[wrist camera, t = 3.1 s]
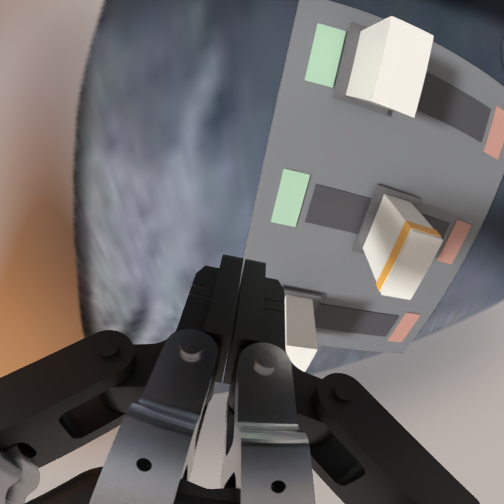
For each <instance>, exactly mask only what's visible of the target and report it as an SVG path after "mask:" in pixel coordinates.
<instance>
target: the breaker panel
mask: <svg viewBox="0 0 504 504" xmlns="http://www.w3.org/2000/svg"><path fill="white" fill-rule="evenodd" d="M382 20H384V19H382V18H380V17H377V16H375V15H372V14H369V13H366V12H364V11H361V10H358V9H355V8H352V7H349V6H346V5H342V4H339V3H336V2H332V1H329V0H299V3H298V7H297V11H296V16H295V20H294V24H293V29H292V33H291V38H290V42H289V47H288V51H287V56H286V60H285V65H284V69H283V74H282V78H281V83H280V88H279V92H278V97H277V101H276V106H275V110H274V115H273V120H272V124H271V129H270V134H269V138H268V143H267V147H266V152H265V157H264V161H263V166H262V171H261V176H260V180H259V185H258V190H257V194H256V199H255V204H254V209H253V213H252V218H251V223H250V228H249V232H248V237H247V242H246V247H245V252H244V256H243V258H244V260H243V266H242V272H243V267H244V263H245V259H250V260H255V261H260V262H265V263H266V276H265V277H266V278H272V279H277V280H279V282H280V284H281V285H282V287H283V288H288V289H294V290H299V291H305V292H310V293H316V294H321V295H322V297H321V300H320V302H319V304H318V306H317V309H316V311H315V313H314V318H315V328H316V337H317V345H322V346H330V347H338V348H347V349H356V350H366V351H376V352H388V353H401V354H402V353H403V352H404V351H405V350H406V348H407V347H408V346H409V345H410V343H411V342H412V341H413V339H414V338H415V336H416V335H417V334H418V332H419V331H420V330H421V328H422V327H423V325H424V324H425V322H426V321H427V320H428V318H429V317H430V315H431V314H432V312H433V311H434V309H435V308H436V306H437V305H438V303H439V302H440V300H441V298H442V297H443V295H444V294H445V292H446V290H447V289H448V287H449V286H450V284H451V282H452V281H453V279H454V277H455V275H456V274H457V272H458V270H459V268H460V267H461V265H462V263H463V261H464V259H465V258H466V256H467V254H468V252H469V250H470V248H471V246H472V244H473V242H474V240H475V238H476V236H477V234H478V232H479V230H480V228H481V226H482V224H483V222H484V220H485V218H486V215H487V213H488V211H489V209H490V206H491V204H492V202H493V199H494V197H495V194H496V192H497V189H498V187H499V184H500V182H501V179H502V176H503V174H504V87H503V86H502V85H501V84H500V83H498V82H497V81H495V80H494V79H493V78H491V77H490V76H488V75H487V74H486V73H484V72H483V71H481V70H480V69H478V68H477V67H475V66H474V65H472V64H471V63H469V62H467V61H466V60H464V59H463V58H461V57H459V56H458V55H456V54H454V53H453V52H451V51H449V50H447V49H446V48H444V47H442V46H440V45H438V44H436V43H435V42H433V43H432V48H431V53H430V57H429V62H428V66H427V71H426V75H425V79H424V83H423V87H422V91H421V95H420V99H419V103H418V106H417V110H416V114H415V117H414V118H413V117H410V116H407V115H404V114H402V113H399V112H396V111H393V110H390V109H388V113H387V116H385V115H383V114H380V113H377V112H374V111H371V110H368V109H365V108H362V107H359V106H356V105H353V104H350V103H347V102H344V101H340V100H337V99H334V98H333V96H334V92H335V88H336V83H337V79H338V75H339V71H340V67H341V63H342V58H343V54H344V50H345V45H346V41H347V36H348V32H349V27H350V23H351V22H354V23H357V24H360V25H363V26H366V27H370V26H372V25H374V24H376V23H378V22H380V21H382ZM377 184H378V185H382V186H385V187H388V188H391V189H394V190H397V191H400V192H404V193H407V194H409V195H412V196H415V197H418V198H419V199H420V200H419V203H418V205H417V208H416V209H417V210H418V211H419V212H420V213H421V214H422V216H423V217H424V218H425V219H426V220H427V221H428V223H429V224H430V225H431V226H432V227H433V229H435V230H437V232H438V233H439V234H440V235H441V238H442V240H443V242H442V244H441V246H440V248H439V250H438V252H437V254H436V256H435V257H434V259H433V261H432V263H431V265H430V267H429V269H428V270H427V272H426V274H425V276H424V278H423V279H422V281H421V283H420V285H419V286H418V288H417V290H416V292H415V293H414V295H413V297H412V298H411V300H407V299H401V298H395V297H390V296H384V295H381V293H380V292H379V291H378V288H377V286H376V280H375V277H374V275H373V272H372V270H371V267H370V265H369V262H368V260H367V257H366V255H365V254H362V253H358V252H353V251H352V248H353V245H354V243H355V240H356V238H357V235H358V233H359V230H360V228H361V225H362V223H363V220H364V217H365V215H366V212H367V209H368V207H369V204H370V201H371V199H372V196H373V193H374V190H375V187H376V185H377ZM242 272H241V276H242ZM240 281H241V279H240ZM239 286H240V285H239Z"/></svg>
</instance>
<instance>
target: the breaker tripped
mask: <svg viewBox="0 0 504 504" xmlns="http://www.w3.org/2000/svg"><path fill="white" fill-rule="evenodd" d="M419 200H420V199H419V198H418V197H415V196H412V195H409V194H407V193H404V192H400V191H397V190H394V189H391V188H388V187H385V186H382V185H378V184H377V185H376V187H375V190H374V193H373V196H372V199H371V201H370V204H369V207H368V209H367V212H366V215H365V217H364V220H363V223H362V225H361V228H360V230H359V233H358V235H357V238H356V240H355V243H354V245H353V248H352V251H353V252H358V253H362V254H365V255H366V257H367V260H368V262H369V265H370V267H371V270H372V272H373V275H374V277H375V280H376V286H377V288H378V291H379V292H380V293H381V295H384V296H390V297H395V298H401V299H407V300H411V298H412V297H413V295H414V293H415V292H416V290H417V288H418V286H419V285H420V283H421V281H422V279H423V278H424V276H425V274H426V272H427V270H428V269H429V267H430V265H431V263H432V261H433V259H434V257H435V256H436V254H437V252H438V250H439V248H440V246H441V244H442V242H443V240H442V238H441V235H440V234H439V233H438V232H437V230H435V229H433V227H432V226H431V225H430V224H429V223H428V221H427V220H426V219H425V218H424V217H423V216H422V214H421V213H420V212H419V211H418V210H417V209H416V208H417V205H418V203H419Z"/></svg>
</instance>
